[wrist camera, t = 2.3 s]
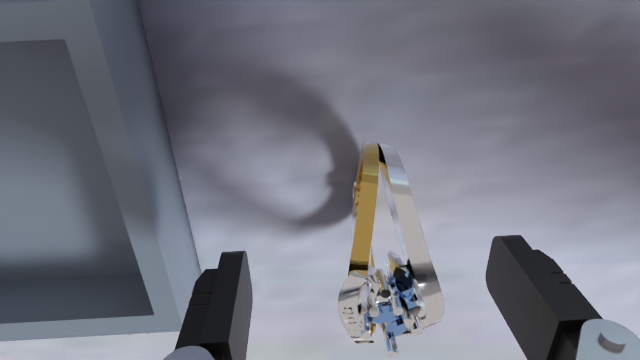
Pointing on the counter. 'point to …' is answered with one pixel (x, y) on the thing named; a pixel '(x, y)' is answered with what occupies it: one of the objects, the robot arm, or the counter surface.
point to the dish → (86, 177)
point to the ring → (371, 283)
